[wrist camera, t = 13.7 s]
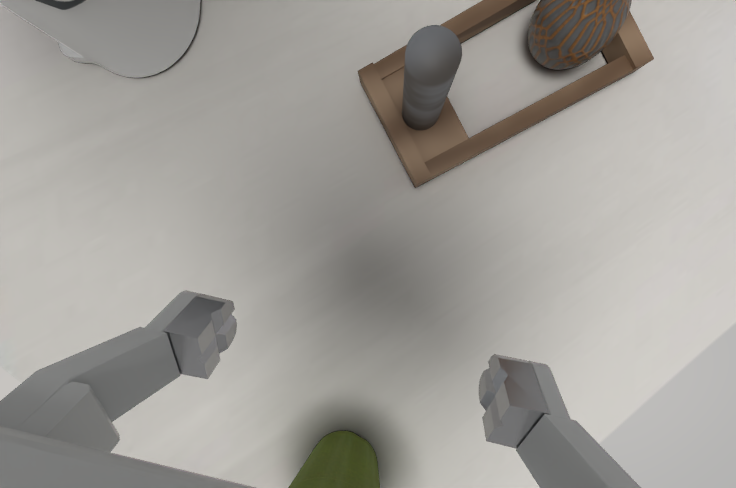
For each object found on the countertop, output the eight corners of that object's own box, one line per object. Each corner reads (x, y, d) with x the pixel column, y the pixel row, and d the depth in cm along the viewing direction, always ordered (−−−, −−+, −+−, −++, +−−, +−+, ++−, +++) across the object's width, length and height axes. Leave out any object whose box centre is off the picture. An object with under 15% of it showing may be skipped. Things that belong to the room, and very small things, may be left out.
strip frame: (360, 82, 32) (340, -1, 20) (575, -42, 30) (691, -217, 18) (415, 188, 32) (426, 165, 21) (633, 72, 30) (787, -29, 18)
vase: (521, 7, 31) (570, -80, 22) (595, 8, 30) (676, -81, 21) (514, 80, 31) (560, 22, 22) (587, 82, 31) (664, 23, 22)
